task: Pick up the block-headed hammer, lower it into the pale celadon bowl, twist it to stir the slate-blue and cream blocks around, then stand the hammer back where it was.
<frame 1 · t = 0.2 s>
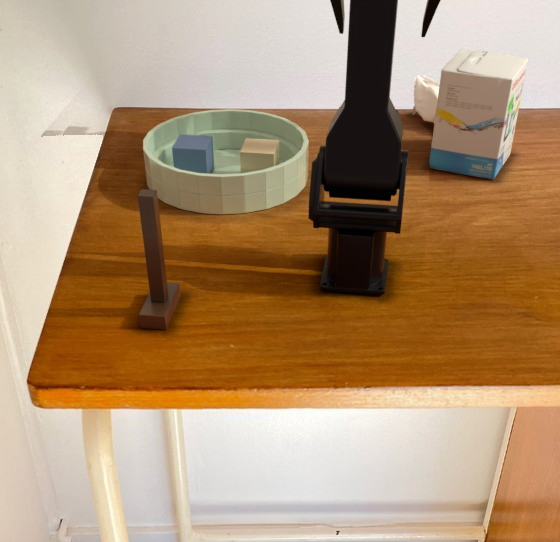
hand: (382, 34, 96), 15 cm above the table, tool pointing down, fingers open, 9 cm apart
bowl: (227, 182, 102), on the table
block-headed hammer: (161, 311, 82), on the table
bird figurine: (438, 127, 115), on the table
cream block: (260, 179, 101), point 1 cm above the table, touching bowl
slate block: (194, 175, 102), point 1 cm above the table, touching bowl
ink box: (469, 163, 106), on the table
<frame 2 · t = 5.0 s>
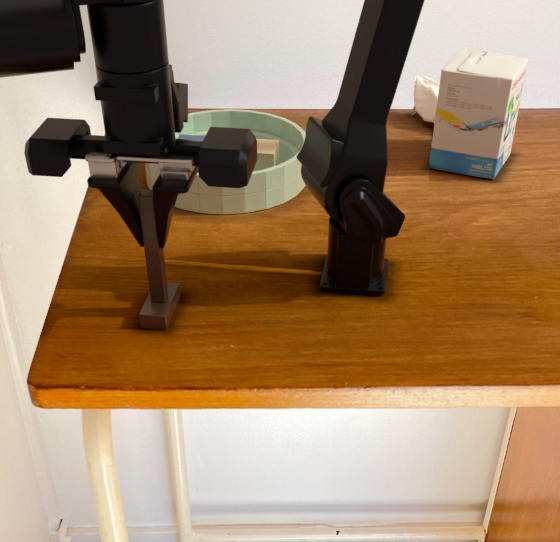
hand: (153, 245, 77), 7 cm above the table, tool pointing down, fingers closed on block-headed hammer, 1 cm apart
block-headed hammer: (161, 311, 82), on the table, touching gripper
everything else where it was.
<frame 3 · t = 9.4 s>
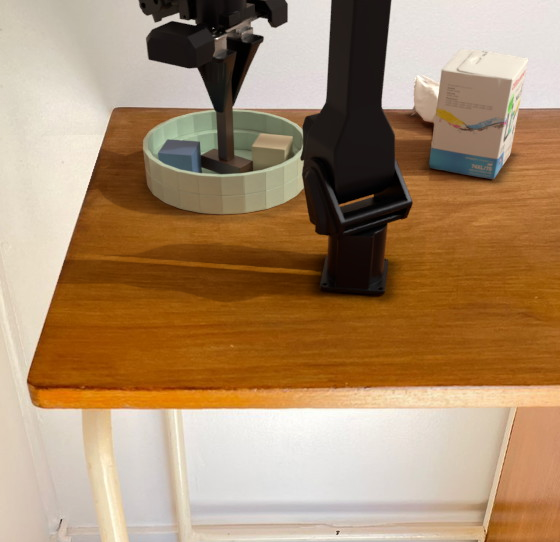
hand: (224, 109, 96), 9 cm above the table, tool pointing down, fingers closed on block-headed hammer, 1 cm apart
block-headed hammer: (227, 170, 101), point 1 cm above the table, touching cream block, gripper, slate block
cream block: (272, 174, 102), point 1 cm above the table, touching bowl, block-headed hammer
slate block: (182, 180, 101), point 1 cm above the table, touching bowl, block-headed hammer
everything else where it was.
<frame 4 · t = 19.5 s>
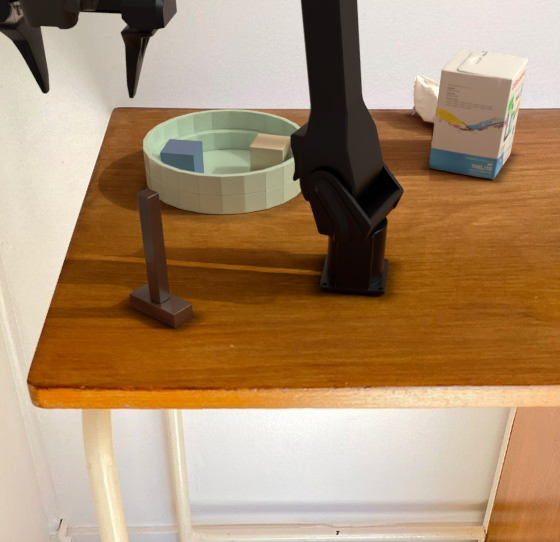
hand: (89, 94, 87), 13 cm above the table, tool pointing down, fingers open, 9 cm apart
block-headed hammer: (161, 312, 82), on the table
cream block: (270, 174, 102), point 1 cm above the table, touching bowl
slate block: (184, 180, 101), point 1 cm above the table, touching bowl
everything else where it was.
at the end: slate block moved 1.8 cm from its start; slate block inside the target area in the bowl (5.2 cm from its centre), point 0.6 cm above the bowl's base; block-headed hammer inside the target area (0.1 cm from its centre), on the table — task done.
